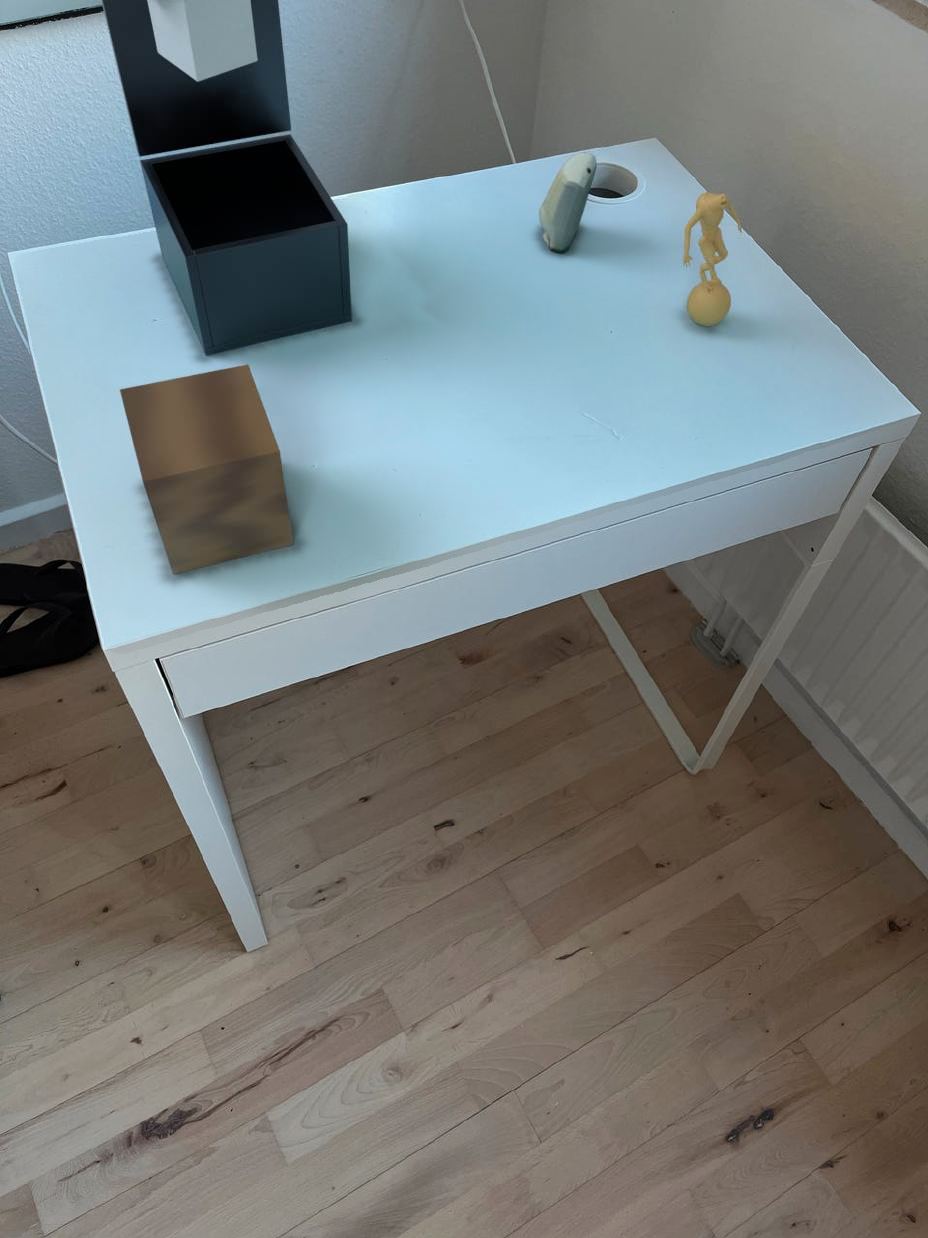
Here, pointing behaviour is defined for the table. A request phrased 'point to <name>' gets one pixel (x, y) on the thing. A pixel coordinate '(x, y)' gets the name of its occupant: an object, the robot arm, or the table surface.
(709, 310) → the figurine
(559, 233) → the grey-green elongated block
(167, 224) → the black open box
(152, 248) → the table surface
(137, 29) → the lid
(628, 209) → the table surface
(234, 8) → the white box
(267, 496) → the brown box
